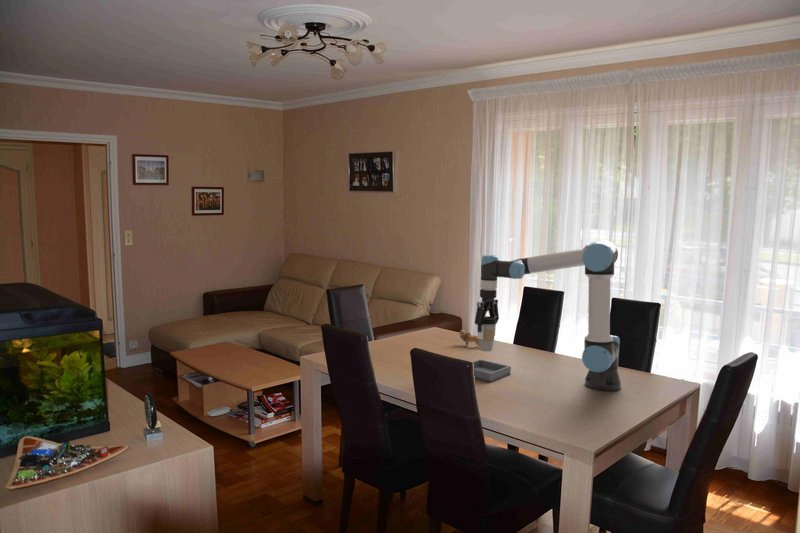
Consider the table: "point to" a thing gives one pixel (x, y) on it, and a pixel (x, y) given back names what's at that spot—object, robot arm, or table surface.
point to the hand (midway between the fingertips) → (486, 337)
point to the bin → (490, 370)
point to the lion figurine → (468, 338)
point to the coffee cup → (488, 334)
